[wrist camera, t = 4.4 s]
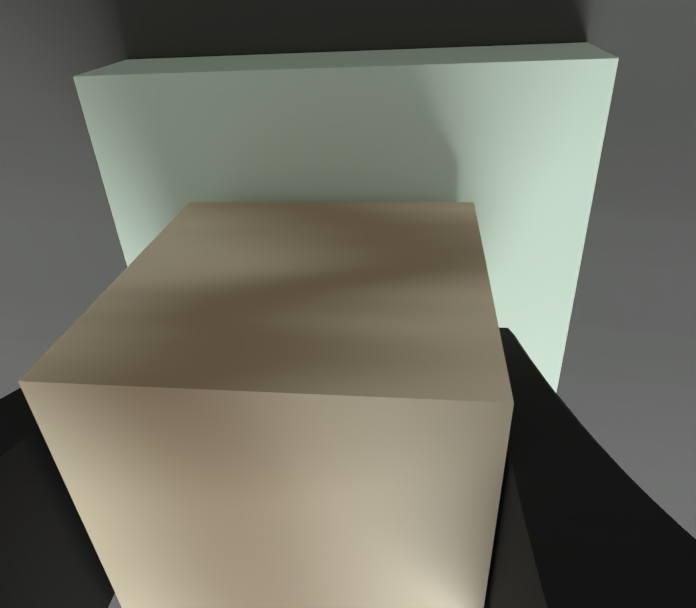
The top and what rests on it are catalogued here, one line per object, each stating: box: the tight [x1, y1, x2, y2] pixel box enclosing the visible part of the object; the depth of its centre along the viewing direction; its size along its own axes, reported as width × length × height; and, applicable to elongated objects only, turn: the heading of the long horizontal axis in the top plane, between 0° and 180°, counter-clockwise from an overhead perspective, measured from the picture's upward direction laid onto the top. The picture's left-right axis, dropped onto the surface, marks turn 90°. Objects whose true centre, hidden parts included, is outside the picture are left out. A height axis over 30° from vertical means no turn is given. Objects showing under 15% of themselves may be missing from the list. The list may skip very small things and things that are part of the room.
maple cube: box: [18, 202, 514, 608], centre depth 9 cm, size 5×5×5 cm
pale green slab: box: [73, 42, 619, 392], centre depth 12 cm, size 9×9×2 cm
